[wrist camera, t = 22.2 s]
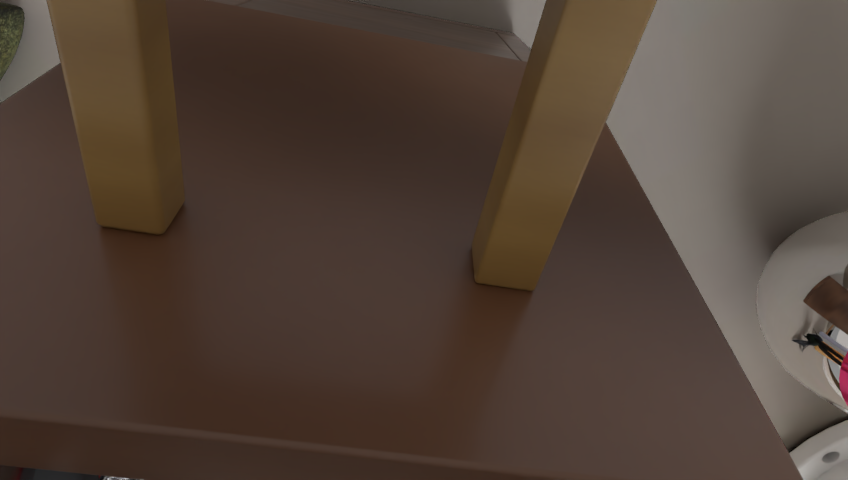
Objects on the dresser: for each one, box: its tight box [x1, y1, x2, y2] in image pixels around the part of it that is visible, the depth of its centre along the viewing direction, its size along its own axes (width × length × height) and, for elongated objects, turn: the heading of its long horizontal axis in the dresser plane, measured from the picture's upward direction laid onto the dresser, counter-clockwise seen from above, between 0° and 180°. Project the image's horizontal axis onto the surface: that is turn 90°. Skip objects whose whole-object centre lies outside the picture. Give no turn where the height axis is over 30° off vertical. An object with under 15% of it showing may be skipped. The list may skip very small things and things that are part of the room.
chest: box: [208, 0, 531, 62], centre depth 18 cm, size 9×9×8 cm
